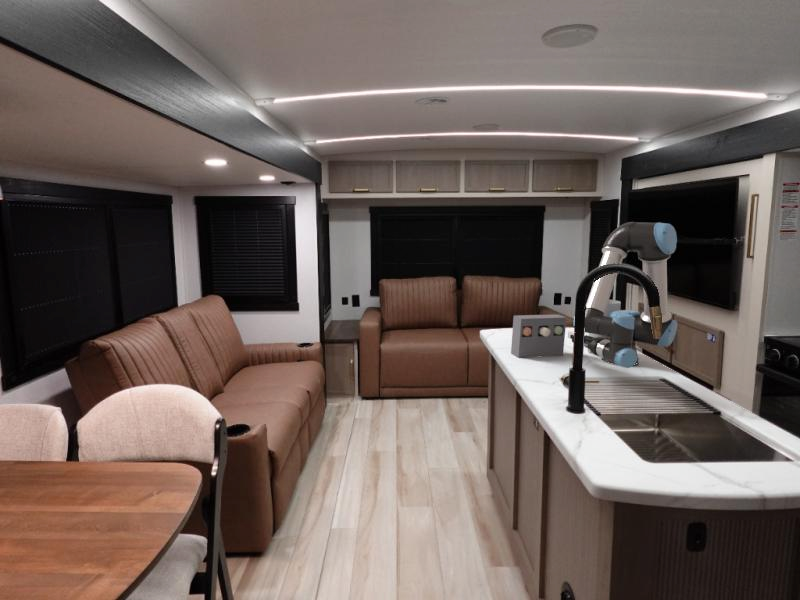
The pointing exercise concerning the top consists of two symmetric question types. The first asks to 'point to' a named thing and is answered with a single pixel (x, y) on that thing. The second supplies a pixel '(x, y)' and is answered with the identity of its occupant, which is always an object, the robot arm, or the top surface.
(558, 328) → the sage button
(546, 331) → the cream button
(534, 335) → the console
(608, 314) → the cylinder vase
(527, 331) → the terracotta button
